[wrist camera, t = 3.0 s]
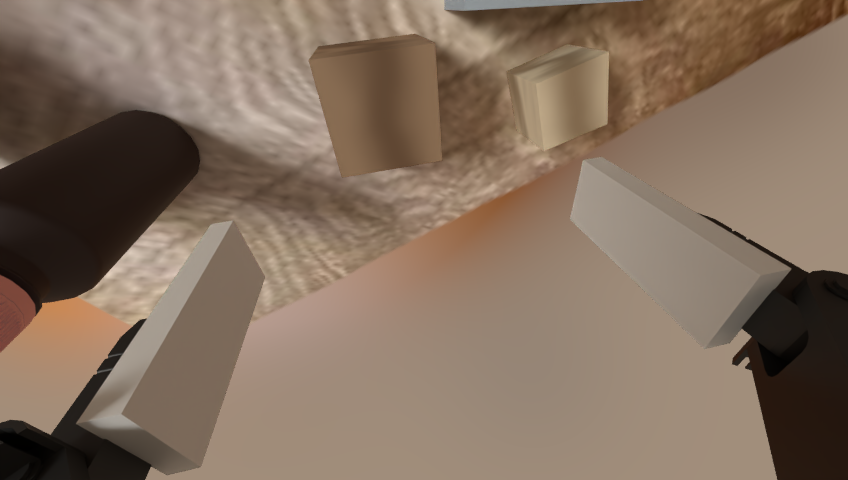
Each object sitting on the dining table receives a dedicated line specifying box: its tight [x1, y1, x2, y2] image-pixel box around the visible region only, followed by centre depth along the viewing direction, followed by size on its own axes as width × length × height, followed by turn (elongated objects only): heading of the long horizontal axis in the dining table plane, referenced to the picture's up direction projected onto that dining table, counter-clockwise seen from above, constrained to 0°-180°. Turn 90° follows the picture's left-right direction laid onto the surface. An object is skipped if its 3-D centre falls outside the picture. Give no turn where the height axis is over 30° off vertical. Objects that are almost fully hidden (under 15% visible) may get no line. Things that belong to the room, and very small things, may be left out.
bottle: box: [0, 110, 200, 352], centre depth 20 cm, size 7×7×20 cm
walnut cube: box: [309, 34, 442, 178], centre depth 25 cm, size 8×8×8 cm
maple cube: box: [507, 44, 609, 151], centre depth 29 cm, size 6×6×6 cm
